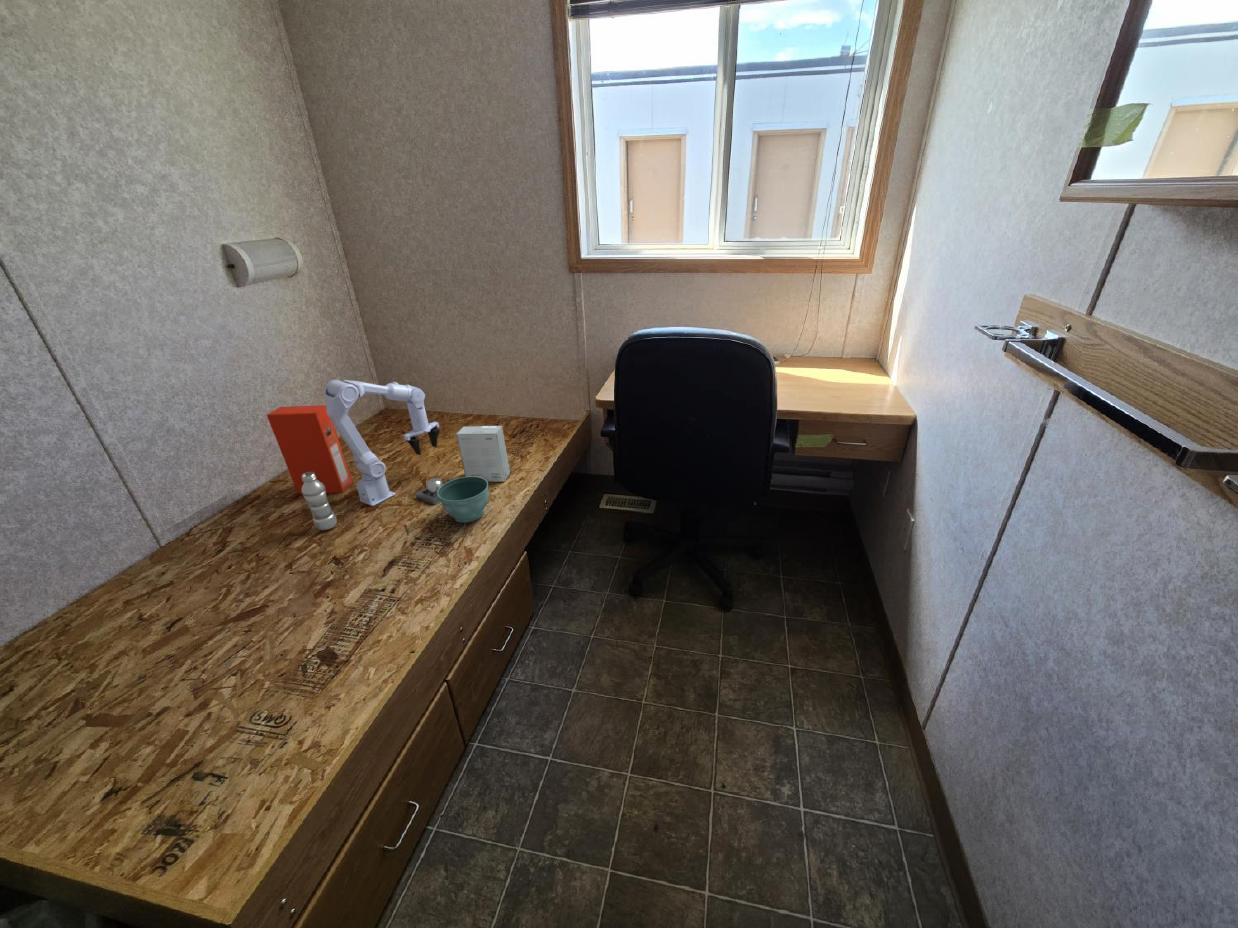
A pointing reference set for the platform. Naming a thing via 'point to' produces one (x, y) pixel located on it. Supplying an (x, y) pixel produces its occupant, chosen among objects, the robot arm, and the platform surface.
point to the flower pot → (464, 498)
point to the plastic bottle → (318, 502)
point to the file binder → (310, 446)
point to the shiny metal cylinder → (434, 486)
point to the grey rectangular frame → (427, 496)
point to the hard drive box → (484, 452)
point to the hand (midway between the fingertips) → (426, 450)
